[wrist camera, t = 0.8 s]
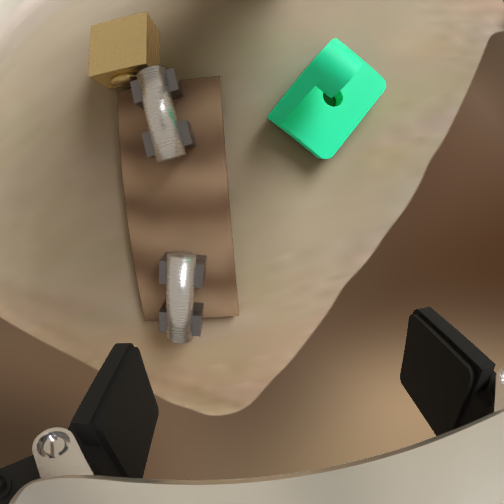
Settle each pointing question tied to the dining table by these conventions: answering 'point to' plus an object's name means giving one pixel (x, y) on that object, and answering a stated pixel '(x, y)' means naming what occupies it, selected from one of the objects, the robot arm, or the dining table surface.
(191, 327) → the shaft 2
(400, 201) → the dining table surface
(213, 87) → the shaft bed
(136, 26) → the gold square block
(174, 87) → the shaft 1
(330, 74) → the camera mount
